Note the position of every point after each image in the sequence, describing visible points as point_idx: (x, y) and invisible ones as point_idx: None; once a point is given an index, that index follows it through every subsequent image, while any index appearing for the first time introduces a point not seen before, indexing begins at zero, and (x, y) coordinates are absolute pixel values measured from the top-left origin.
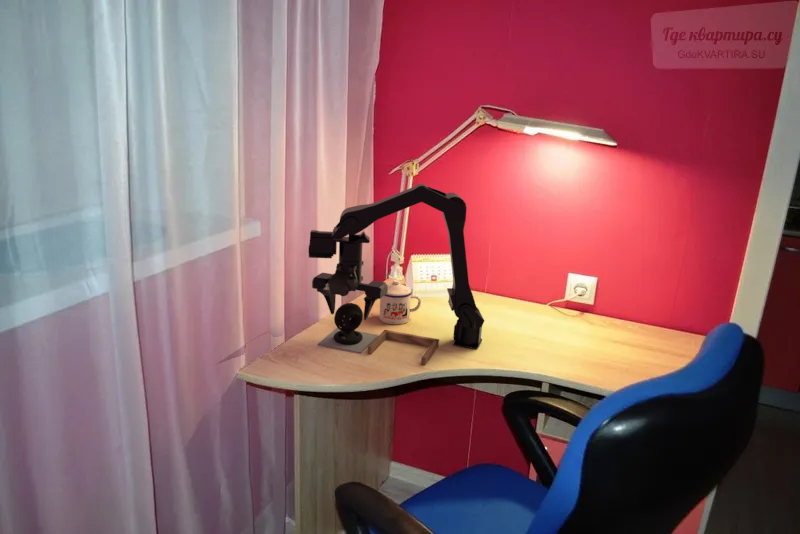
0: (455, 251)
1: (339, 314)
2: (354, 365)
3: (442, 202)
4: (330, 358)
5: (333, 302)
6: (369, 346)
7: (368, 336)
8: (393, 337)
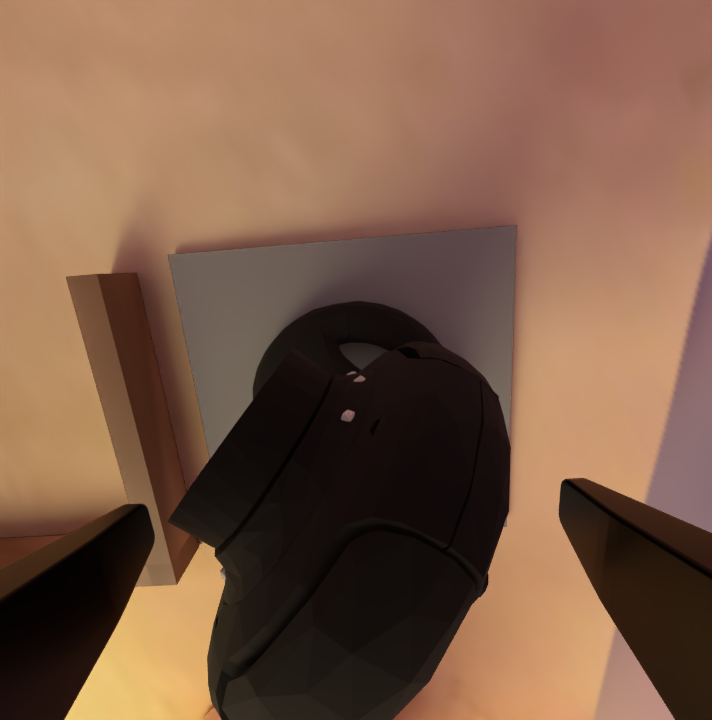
0: None
1: (412, 393)
2: (98, 41)
3: None
4: (316, 58)
5: (694, 667)
6: (88, 284)
7: None
8: None
